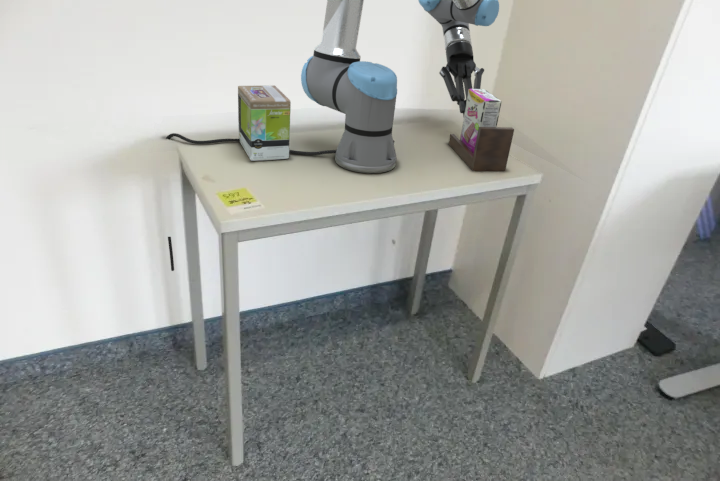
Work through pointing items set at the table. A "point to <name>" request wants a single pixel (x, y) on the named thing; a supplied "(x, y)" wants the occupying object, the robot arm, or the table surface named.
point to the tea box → (264, 122)
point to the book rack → (486, 149)
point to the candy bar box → (479, 115)
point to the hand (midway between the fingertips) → (468, 123)
